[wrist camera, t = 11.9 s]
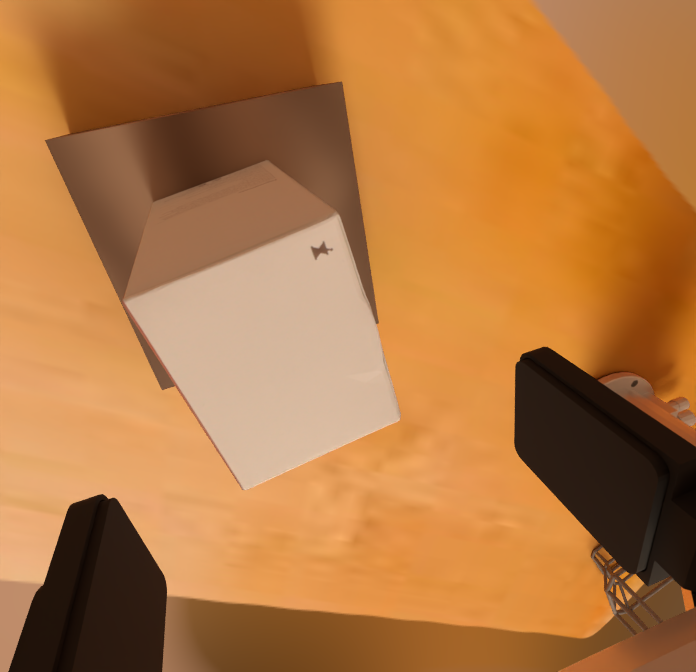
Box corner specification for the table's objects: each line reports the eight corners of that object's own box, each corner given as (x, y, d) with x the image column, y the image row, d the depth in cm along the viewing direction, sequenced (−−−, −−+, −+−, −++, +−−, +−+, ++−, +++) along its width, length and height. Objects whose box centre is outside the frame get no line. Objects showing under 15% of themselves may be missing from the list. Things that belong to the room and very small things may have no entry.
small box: (149, 201, 22) (112, 297, 11) (268, 156, 23) (343, 205, 12) (219, 333, 26) (243, 497, 15) (318, 292, 27) (408, 420, 16)
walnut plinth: (317, 85, 27) (342, 81, 23) (354, 295, 34) (378, 323, 30) (70, 133, 24) (45, 140, 20) (165, 351, 31) (162, 389, 27)
